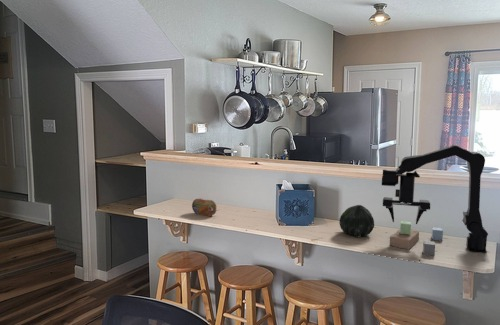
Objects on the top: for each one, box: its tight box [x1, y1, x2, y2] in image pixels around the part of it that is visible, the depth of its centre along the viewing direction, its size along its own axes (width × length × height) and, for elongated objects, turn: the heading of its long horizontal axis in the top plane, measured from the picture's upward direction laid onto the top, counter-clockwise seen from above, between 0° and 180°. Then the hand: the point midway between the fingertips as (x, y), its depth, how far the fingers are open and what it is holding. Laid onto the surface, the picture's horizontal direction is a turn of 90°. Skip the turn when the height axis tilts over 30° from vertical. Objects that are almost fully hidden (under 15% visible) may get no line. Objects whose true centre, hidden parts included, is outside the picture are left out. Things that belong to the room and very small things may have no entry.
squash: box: [338, 204, 375, 238], centre depth 196 cm, size 14×15×15 cm
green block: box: [399, 220, 412, 235], centre depth 186 cm, size 4×4×4 cm
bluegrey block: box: [431, 227, 444, 241], centre depth 191 cm, size 4×4×4 cm
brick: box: [389, 228, 420, 250], centre depth 186 cm, size 17×8×5 cm, turn 145°
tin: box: [191, 198, 217, 217], centre depth 229 cm, size 15×3×8 cm, turn 55°
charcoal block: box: [422, 240, 436, 256], centre depth 173 cm, size 4×4×4 cm
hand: (404, 223), depth 185 cm, fingers open, 9 cm apart
